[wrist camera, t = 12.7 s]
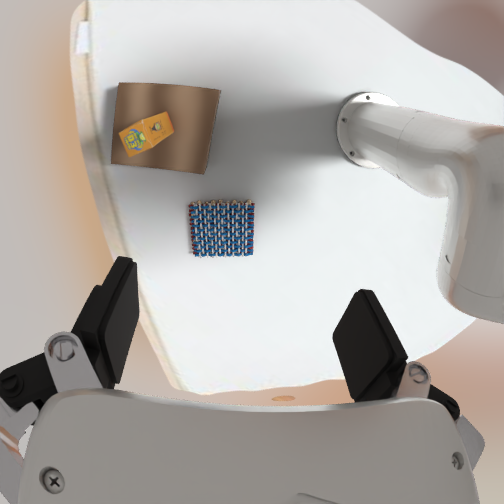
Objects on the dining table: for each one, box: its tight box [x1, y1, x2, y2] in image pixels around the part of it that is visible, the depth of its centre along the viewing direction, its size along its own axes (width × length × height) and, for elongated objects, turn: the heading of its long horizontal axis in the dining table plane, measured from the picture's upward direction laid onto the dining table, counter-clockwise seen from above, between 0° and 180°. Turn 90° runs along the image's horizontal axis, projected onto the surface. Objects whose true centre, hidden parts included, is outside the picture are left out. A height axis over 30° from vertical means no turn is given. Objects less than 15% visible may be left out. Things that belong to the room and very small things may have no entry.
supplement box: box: [119, 111, 174, 157], centre depth 29 cm, size 3×4×10 cm
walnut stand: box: [111, 83, 221, 174], centre depth 35 cm, size 14×12×4 cm
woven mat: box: [189, 200, 255, 258], centre depth 46 cm, size 10×11×2 cm
